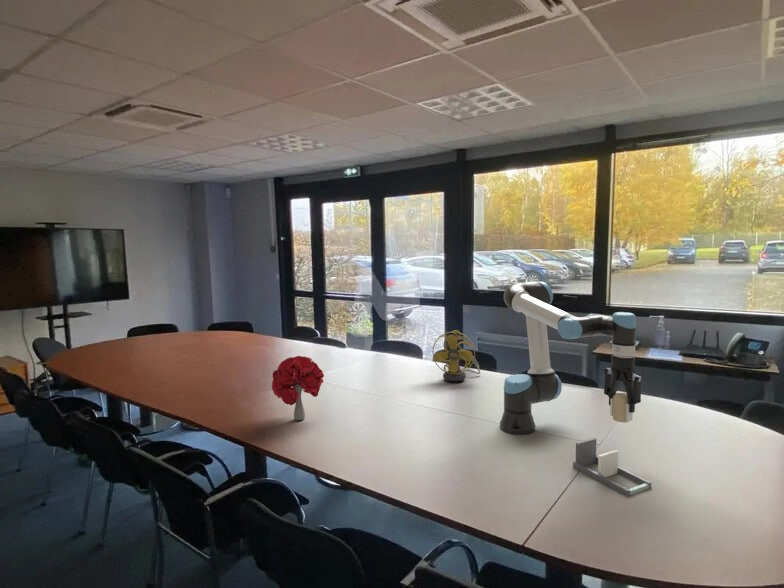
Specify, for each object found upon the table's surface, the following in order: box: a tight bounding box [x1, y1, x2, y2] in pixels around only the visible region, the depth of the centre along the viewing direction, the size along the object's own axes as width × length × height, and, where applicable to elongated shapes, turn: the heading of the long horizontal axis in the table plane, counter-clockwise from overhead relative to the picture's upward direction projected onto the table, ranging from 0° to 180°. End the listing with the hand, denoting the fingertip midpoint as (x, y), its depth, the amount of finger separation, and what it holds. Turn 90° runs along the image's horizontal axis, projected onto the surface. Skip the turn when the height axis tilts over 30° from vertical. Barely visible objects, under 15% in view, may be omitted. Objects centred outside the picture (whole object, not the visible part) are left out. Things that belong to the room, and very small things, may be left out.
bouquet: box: [271, 355, 325, 421], centre depth 215 cm, size 22×24×30 cm
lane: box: [572, 437, 652, 497], centre depth 156 cm, size 22×11×9 cm, turn 25°
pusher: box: [597, 449, 619, 478], centre depth 157 cm, size 1×8×8 cm, turn 115°
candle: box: [612, 392, 630, 423], centre depth 165 cm, size 6×6×10 cm
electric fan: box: [431, 329, 481, 382], centre depth 281 cm, size 26×32×30 cm
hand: (621, 417), depth 165 cm, fingers closed on candle, 5 cm apart
